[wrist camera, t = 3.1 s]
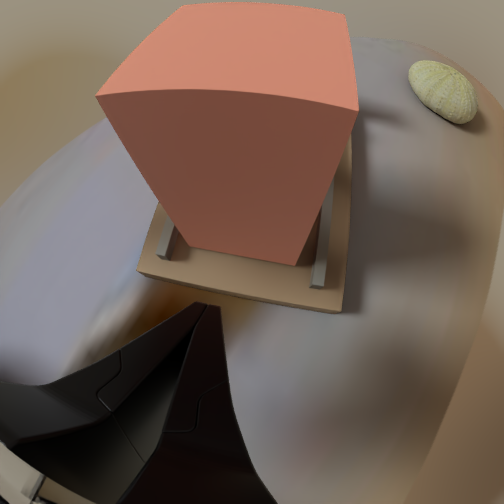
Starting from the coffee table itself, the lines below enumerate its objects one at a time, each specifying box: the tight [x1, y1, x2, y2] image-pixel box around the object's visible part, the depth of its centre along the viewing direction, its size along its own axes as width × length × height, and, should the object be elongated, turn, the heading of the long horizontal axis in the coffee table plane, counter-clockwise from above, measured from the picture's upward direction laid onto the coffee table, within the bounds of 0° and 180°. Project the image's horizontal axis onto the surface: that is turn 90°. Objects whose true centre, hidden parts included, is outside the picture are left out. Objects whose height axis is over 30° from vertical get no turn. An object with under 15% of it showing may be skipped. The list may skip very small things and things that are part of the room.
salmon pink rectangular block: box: [95, 2, 359, 266], centre depth 11 cm, size 6×6×11 cm
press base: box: [136, 134, 352, 314], centre depth 16 cm, size 18×12×6 cm, turn 169°
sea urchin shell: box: [408, 60, 478, 124], centre depth 21 cm, size 9×8×8 cm
